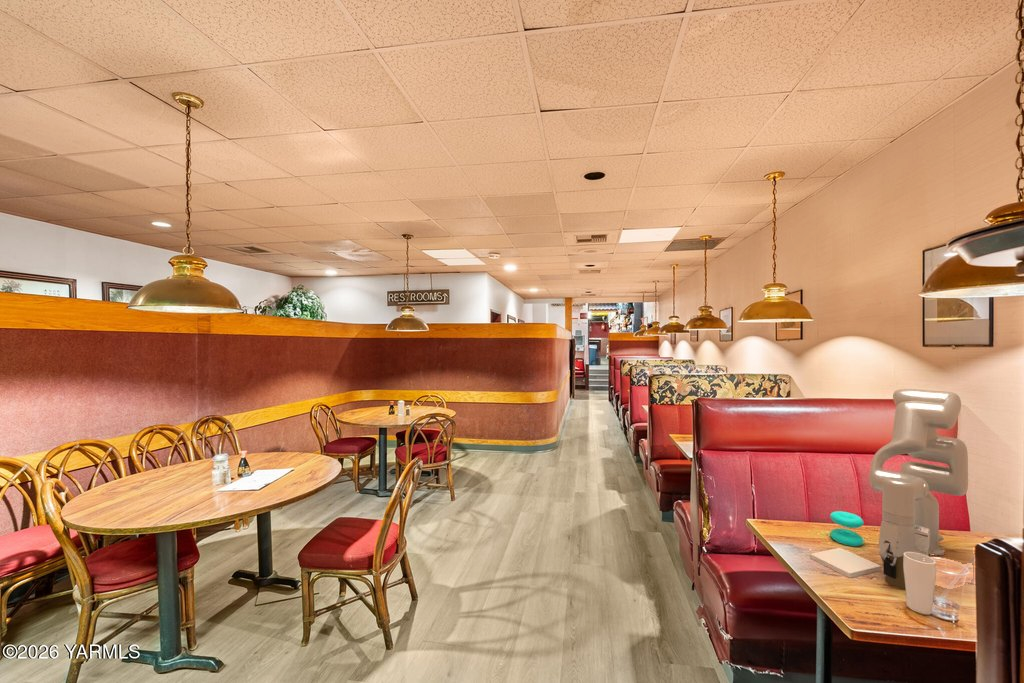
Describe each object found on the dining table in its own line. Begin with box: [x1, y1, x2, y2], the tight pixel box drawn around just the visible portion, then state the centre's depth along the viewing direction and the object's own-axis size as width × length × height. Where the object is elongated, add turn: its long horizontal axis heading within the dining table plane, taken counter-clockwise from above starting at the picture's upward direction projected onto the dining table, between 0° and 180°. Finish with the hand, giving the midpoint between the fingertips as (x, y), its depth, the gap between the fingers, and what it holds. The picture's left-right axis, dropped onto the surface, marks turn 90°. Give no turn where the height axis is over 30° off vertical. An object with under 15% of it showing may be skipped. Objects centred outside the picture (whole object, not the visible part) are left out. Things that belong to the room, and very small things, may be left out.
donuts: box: [829, 510, 865, 547], centre depth 161 cm, size 10×10×10 cm
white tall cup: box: [903, 552, 937, 616], centre depth 120 cm, size 7×7×15 cm
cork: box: [884, 552, 906, 591], centre depth 132 cm, size 6×6×11 cm
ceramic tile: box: [809, 547, 882, 579], centre depth 144 cm, size 15×13×2 cm
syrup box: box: [914, 525, 930, 557], centre depth 140 cm, size 6×6×14 cm
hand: (897, 573), depth 132 cm, fingers open, 6 cm apart
